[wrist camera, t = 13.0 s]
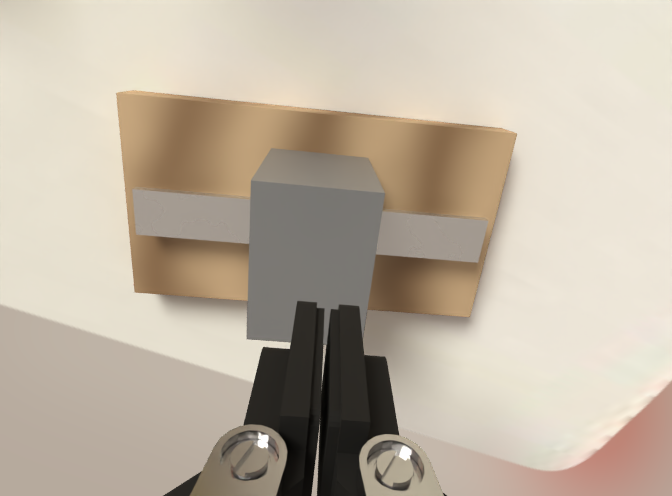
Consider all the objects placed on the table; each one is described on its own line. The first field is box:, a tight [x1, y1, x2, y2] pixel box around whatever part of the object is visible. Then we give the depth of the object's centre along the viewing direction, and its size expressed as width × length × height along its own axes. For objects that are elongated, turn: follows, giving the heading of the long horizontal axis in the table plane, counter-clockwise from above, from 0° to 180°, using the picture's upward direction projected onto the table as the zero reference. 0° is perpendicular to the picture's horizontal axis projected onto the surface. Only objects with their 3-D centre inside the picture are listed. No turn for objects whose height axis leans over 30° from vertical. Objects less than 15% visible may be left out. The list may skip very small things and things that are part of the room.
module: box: [247, 148, 385, 345], centre depth 20 cm, size 5×8×7 cm, turn 174°
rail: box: [132, 187, 488, 263], centre depth 23 cm, size 18×2×2 cm, turn 84°
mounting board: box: [116, 91, 517, 317], centre depth 24 cm, size 20×11×2 cm, turn 84°
